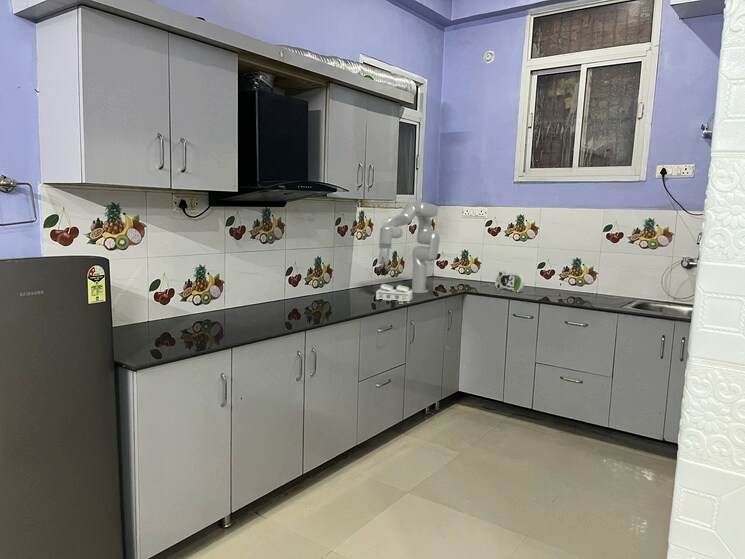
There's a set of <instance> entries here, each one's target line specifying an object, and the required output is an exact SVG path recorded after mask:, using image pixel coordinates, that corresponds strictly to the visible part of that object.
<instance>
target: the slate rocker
mask: <svg viewBox="0 0 745 559" xmlns="http://www.w3.org/2000/svg"><path fill="white" fill-rule="evenodd" d="M380 288H381V289H386V290H390V291H392V290H393V289H394V286H392V285H389V284H386V283H382V284H381V285H380Z"/></svg>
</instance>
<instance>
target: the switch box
mask: <svg viewBox="0 0 745 559" xmlns="http://www.w3.org/2000/svg"><path fill="white" fill-rule="evenodd" d="M375 292H376V293H375V294H376V295H375V300H379V299H383V300H382V301H391V300H398V301H397V302H403V301H410V300H413V293H414V292H413V291H409V290H408V291H407V292H406V291H402V290H398V289H394V288H393V290H392V291H390V290H386V289H383V288H381V287H380V288H379V289H378V290H377V291H375ZM410 302H411V301H410Z"/></svg>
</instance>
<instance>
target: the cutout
mask: <svg viewBox="0 0 745 559" xmlns="http://www.w3.org/2000/svg"><path fill="white" fill-rule="evenodd" d="M494 284H495V289H496V288H501V289H502V288H504V289H507V290H509V291H510V290H512V292H513V291H517V292H519V293H520V292H522V290H523V289H524V287H525V278H524V276H523V275H522V274H520V273H513V272H512V273H510V272H509V273H507V272H506V271H505V270H499V271H498V273H497V274H496V276H495V281H494Z"/></svg>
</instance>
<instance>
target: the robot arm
mask: <svg viewBox="0 0 745 559" xmlns="http://www.w3.org/2000/svg"><path fill="white" fill-rule="evenodd" d="M438 212H439V209H438V207H437V205H436V204H433V203H428V202H424V201H423V202H422V201H411V202H409V203H408V204H407V205H406V206H405V207H404V209H403V210H402V211H401V212H400V213H399V214H397V215H395V216H394V217H392V218H389V219H388V220H387V221H386V222H385V223H384V224H383V225H382V226H381V227H380V229H379V243H378V244H379V247H378V249H379V257H378V264H379V265H381V269H380V276H384V277H385V276H387V271H388V270H387V268H388V266H387V265H388V264H389V262H390V250H391V249H392V242H393V241H392V240H393V239H400V238H401V237H403V234H404V232H403V229H402V228H401V227H403V226H406V225H409V224H410V223H411V222H412V221H413V219H414V218H415V217H416V218H417V221H418V226H417V233H416V234H417V235H416V242H417V243H418V244H419V245H417V246H415V247H413V249H412V252H411V253H412V254H411V255H412V282H411V288H409V290H408V291H413V293H416V294H426V293H428V289H426V288H427V287H426V286H427V273H428V272H427V271H428V267H427V266H428V265H427V262H435V260H436V259H437V257H438V255H439V254H438V253H439V247H440V238H441V237H440V234H439V232H437V231H435V230H432V229H431V228H432V222H431V219H430V218H435V217H437V215H438ZM424 245H427V246H424Z"/></svg>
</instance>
